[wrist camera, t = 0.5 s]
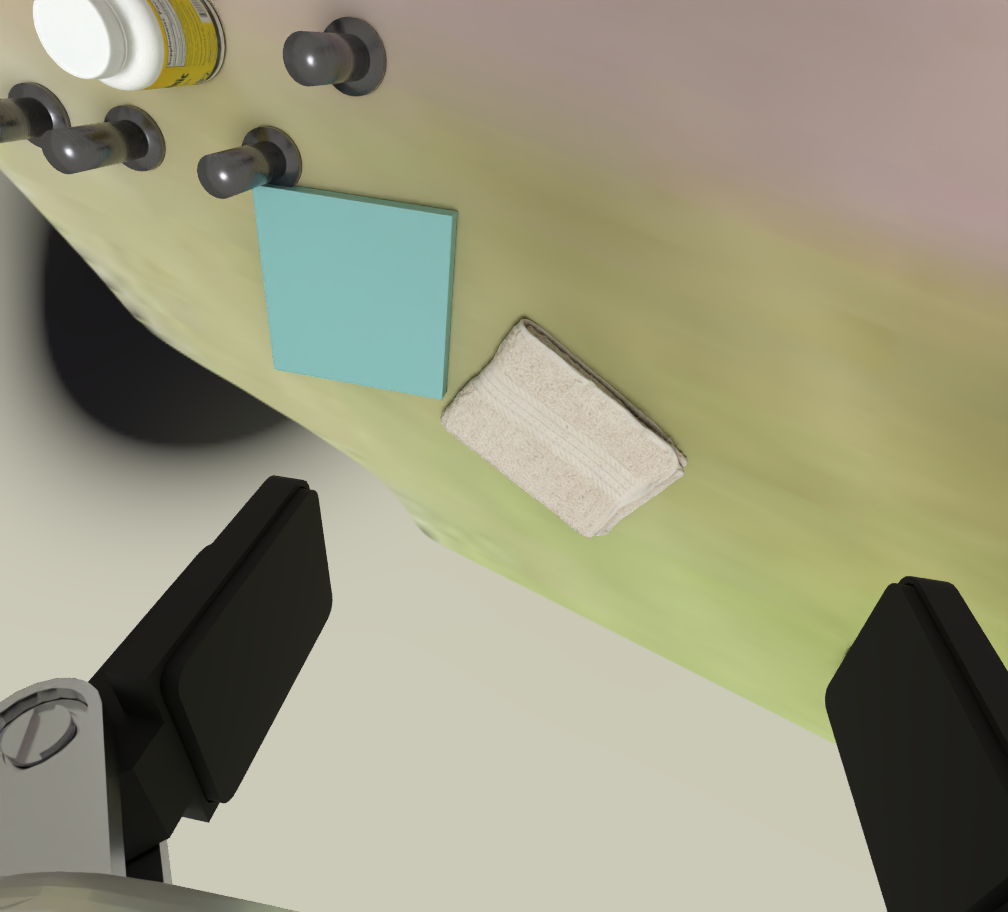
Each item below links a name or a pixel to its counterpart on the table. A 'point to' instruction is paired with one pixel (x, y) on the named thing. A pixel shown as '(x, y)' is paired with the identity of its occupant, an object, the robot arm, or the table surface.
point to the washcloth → (562, 433)
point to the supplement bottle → (132, 40)
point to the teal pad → (357, 287)
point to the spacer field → (260, 160)
